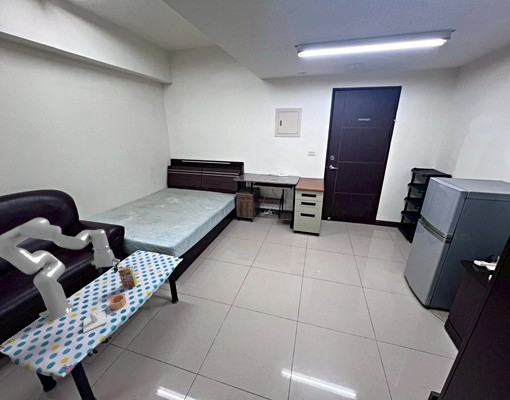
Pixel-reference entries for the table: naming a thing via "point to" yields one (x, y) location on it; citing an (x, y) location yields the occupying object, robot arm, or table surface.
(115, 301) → the bowl
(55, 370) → the table surface
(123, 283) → the candy box
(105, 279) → the table surface
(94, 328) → the mat
